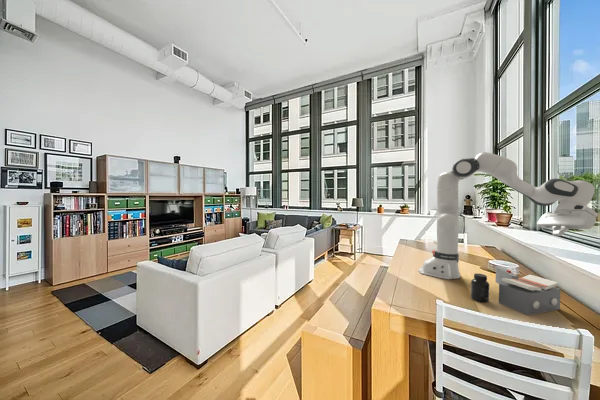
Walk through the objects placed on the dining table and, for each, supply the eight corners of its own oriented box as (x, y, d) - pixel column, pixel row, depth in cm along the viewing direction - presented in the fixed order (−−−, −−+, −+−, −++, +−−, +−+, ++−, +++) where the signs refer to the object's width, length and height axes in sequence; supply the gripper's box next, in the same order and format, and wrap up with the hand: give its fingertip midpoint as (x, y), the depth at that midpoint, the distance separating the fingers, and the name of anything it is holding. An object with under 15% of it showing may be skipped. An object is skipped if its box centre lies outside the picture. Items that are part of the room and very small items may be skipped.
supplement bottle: (467, 296, 113) (467, 272, 112) (480, 296, 113) (480, 272, 113) (479, 303, 106) (479, 277, 105) (492, 302, 106) (493, 277, 106)
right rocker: (545, 291, 99) (545, 286, 99) (518, 282, 109) (517, 278, 108) (558, 286, 101) (557, 281, 101) (530, 278, 111) (529, 274, 110)
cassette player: (517, 293, 117) (518, 274, 116) (511, 293, 117) (512, 273, 117) (501, 282, 132) (501, 265, 131) (495, 281, 132) (496, 264, 132)
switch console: (528, 315, 95) (529, 294, 95) (498, 303, 106) (499, 283, 106) (561, 309, 100) (562, 289, 100) (529, 298, 111) (529, 279, 111)
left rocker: (527, 291, 96) (528, 285, 96) (501, 282, 106) (502, 277, 106) (540, 292, 98) (541, 287, 98) (513, 283, 108) (514, 278, 108)
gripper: (540, 208, 121) (528, 230, 119) (591, 206, 101) (577, 232, 99) (550, 215, 121) (538, 237, 119) (603, 214, 100) (589, 240, 99)
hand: (556, 235), depth 109 cm, fingers closed
